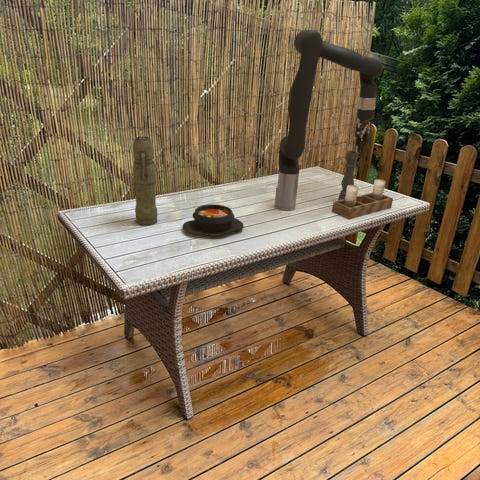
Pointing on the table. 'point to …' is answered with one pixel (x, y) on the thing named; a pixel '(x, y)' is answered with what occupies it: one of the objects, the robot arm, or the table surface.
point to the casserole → (213, 221)
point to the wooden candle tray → (362, 201)
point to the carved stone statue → (144, 181)
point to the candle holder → (348, 172)
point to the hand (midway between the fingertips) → (361, 143)
